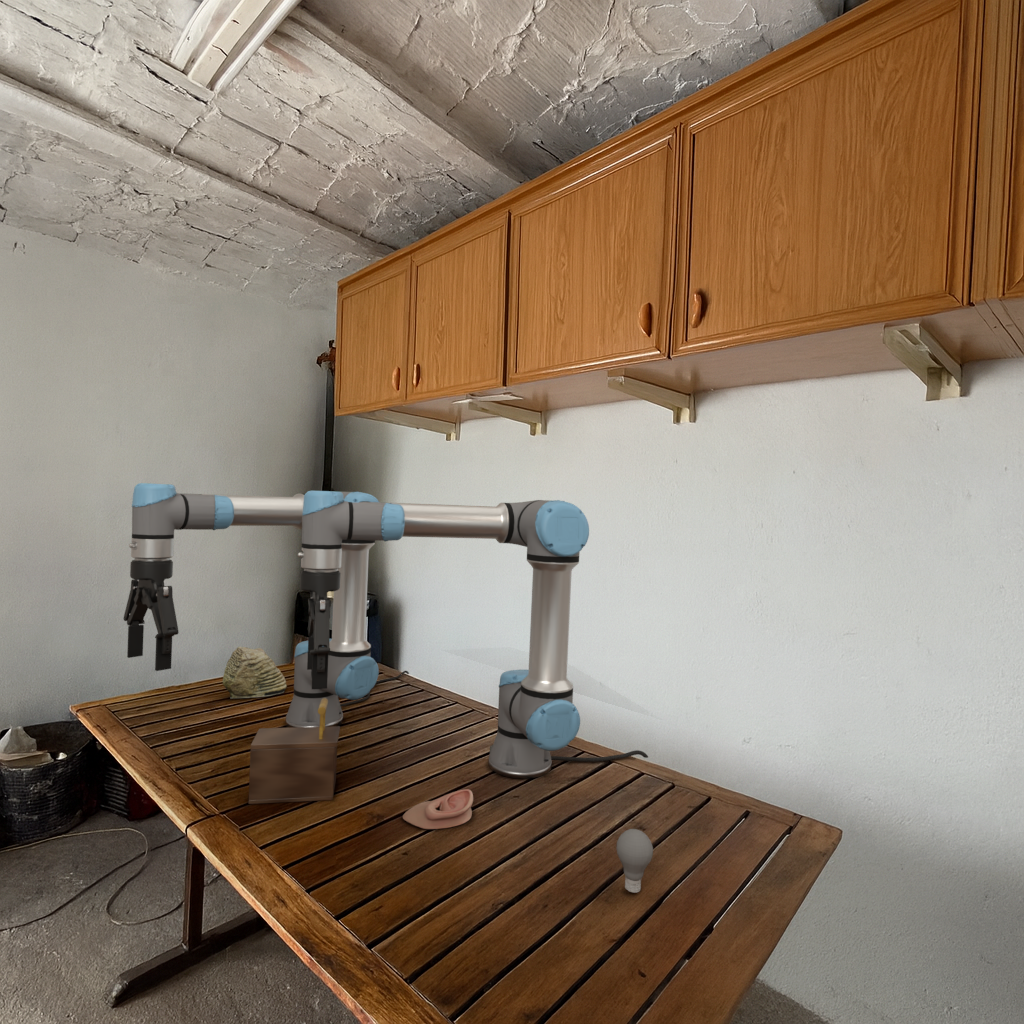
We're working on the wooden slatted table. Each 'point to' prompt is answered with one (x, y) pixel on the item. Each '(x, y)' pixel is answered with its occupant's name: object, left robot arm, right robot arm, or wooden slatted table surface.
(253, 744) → the lid
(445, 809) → the anatomical model
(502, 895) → the wooden slatted table surface
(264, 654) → the fossil
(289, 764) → the chest
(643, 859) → the light bulb
